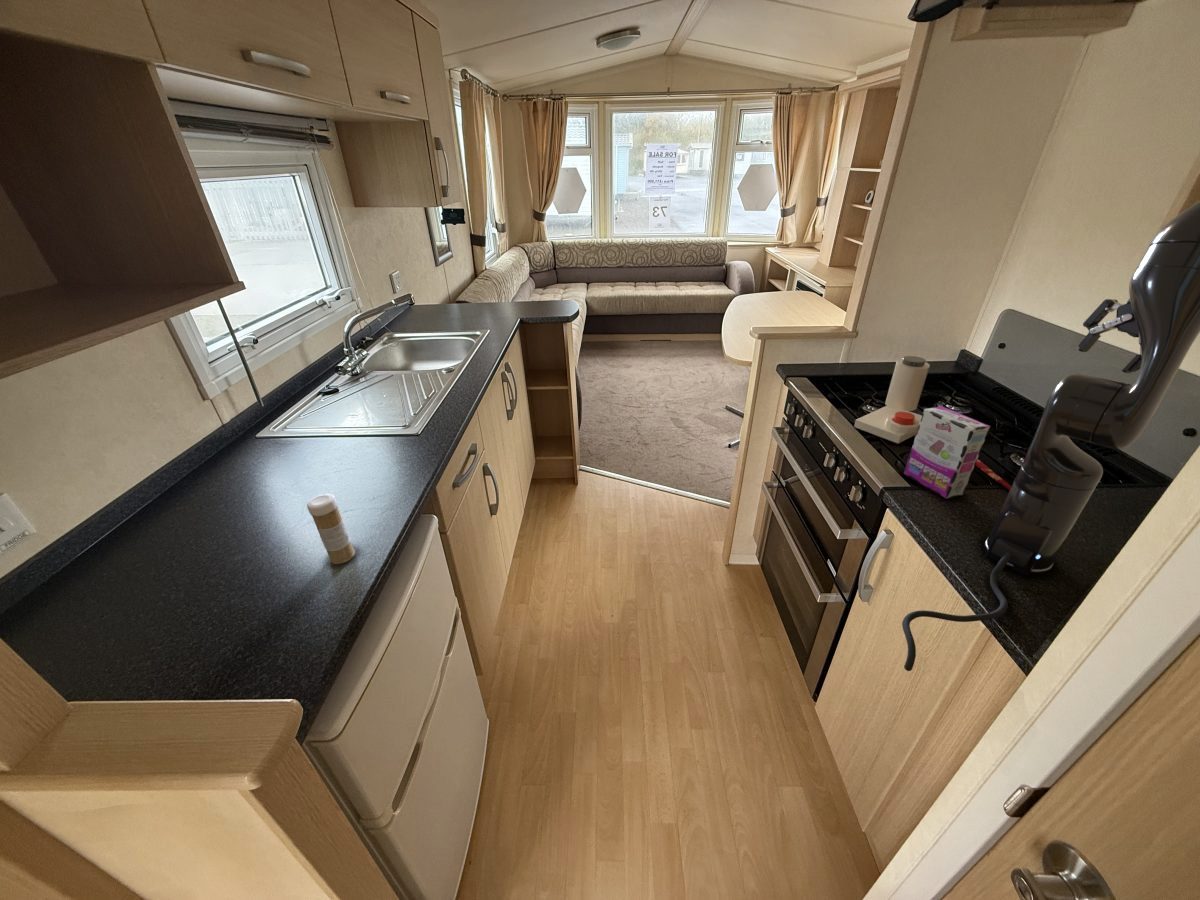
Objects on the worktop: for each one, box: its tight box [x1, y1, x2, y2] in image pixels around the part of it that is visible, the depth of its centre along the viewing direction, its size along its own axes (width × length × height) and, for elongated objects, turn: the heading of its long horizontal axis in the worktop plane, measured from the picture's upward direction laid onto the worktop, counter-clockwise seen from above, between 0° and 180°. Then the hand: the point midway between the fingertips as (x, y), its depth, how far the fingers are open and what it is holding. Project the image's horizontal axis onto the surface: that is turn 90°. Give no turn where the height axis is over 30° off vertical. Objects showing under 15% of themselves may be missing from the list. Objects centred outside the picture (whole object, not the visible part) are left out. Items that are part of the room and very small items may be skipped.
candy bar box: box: [903, 405, 991, 499], centre depth 101 cm, size 11×5×16 cm, turn 17°
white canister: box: [884, 355, 931, 412], centre depth 128 cm, size 8×8×13 cm
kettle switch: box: [893, 412, 915, 425], centre depth 123 cm, size 4×4×2 cm
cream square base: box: [853, 405, 923, 444], centre depth 128 cm, size 16×13×4 cm
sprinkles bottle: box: [306, 493, 356, 565], centre depth 89 cm, size 5×5×14 cm
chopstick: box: [975, 458, 1012, 491], centre depth 108 cm, size 2×24×1 cm, turn 179°
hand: (1103, 361), depth 97 cm, fingers open, 8 cm apart
